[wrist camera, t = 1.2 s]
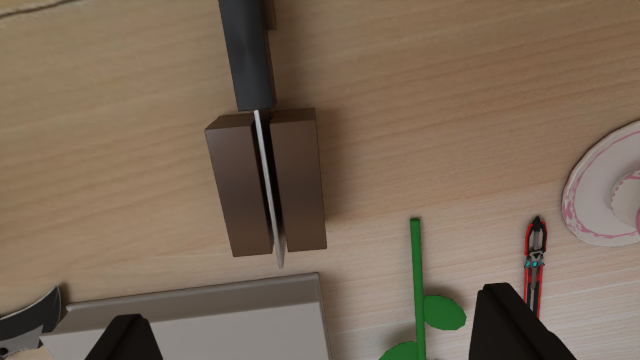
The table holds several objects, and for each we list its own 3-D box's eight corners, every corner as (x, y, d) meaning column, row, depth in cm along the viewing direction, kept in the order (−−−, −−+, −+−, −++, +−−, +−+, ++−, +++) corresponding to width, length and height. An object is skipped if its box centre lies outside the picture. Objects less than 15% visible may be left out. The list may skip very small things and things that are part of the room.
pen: (518, 330, 34) (522, 335, 34) (523, 217, 29) (528, 220, 28) (537, 327, 34) (541, 332, 34) (546, 212, 29) (551, 216, 28)
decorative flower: (338, 217, 31) (365, 449, 39) (346, 240, 26) (375, 498, 34) (469, 198, 31) (469, 431, 39) (499, 217, 27) (492, 477, 35)
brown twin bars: (196, 3, 22) (173, -5, 18) (304, -7, 22) (304, -16, 18) (242, 229, 29) (233, 257, 25) (324, 222, 28) (327, 249, 25)
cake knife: (232, -9, 21) (214, -21, 17) (266, -12, 21) (255, -25, 17) (272, 237, 29) (266, 269, 25) (297, 234, 29) (295, 267, 25)
